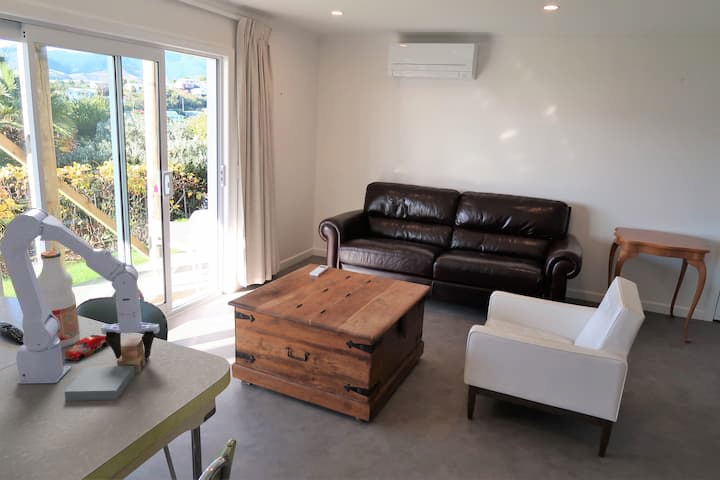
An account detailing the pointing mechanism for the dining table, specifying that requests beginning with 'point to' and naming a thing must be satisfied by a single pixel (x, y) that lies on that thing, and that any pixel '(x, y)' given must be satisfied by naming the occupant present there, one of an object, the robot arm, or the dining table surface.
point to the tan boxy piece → (133, 361)
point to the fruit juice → (59, 297)
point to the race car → (86, 347)
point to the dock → (100, 383)
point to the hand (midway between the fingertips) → (133, 356)
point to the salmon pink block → (132, 348)
